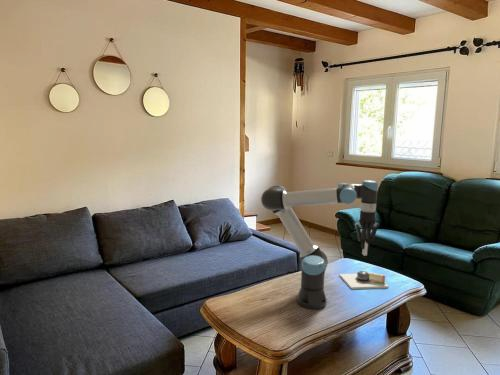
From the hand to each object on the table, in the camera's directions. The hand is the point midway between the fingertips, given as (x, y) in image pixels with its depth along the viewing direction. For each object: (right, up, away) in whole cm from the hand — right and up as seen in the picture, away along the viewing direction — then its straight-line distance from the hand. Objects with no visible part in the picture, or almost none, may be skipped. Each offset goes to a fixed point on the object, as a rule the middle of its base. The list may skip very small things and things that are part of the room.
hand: (364, 254), depth 190 cm
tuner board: (+7, -21, +25) cm, 33 cm away
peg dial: (+11, -19, +23) cm, 32 cm away
